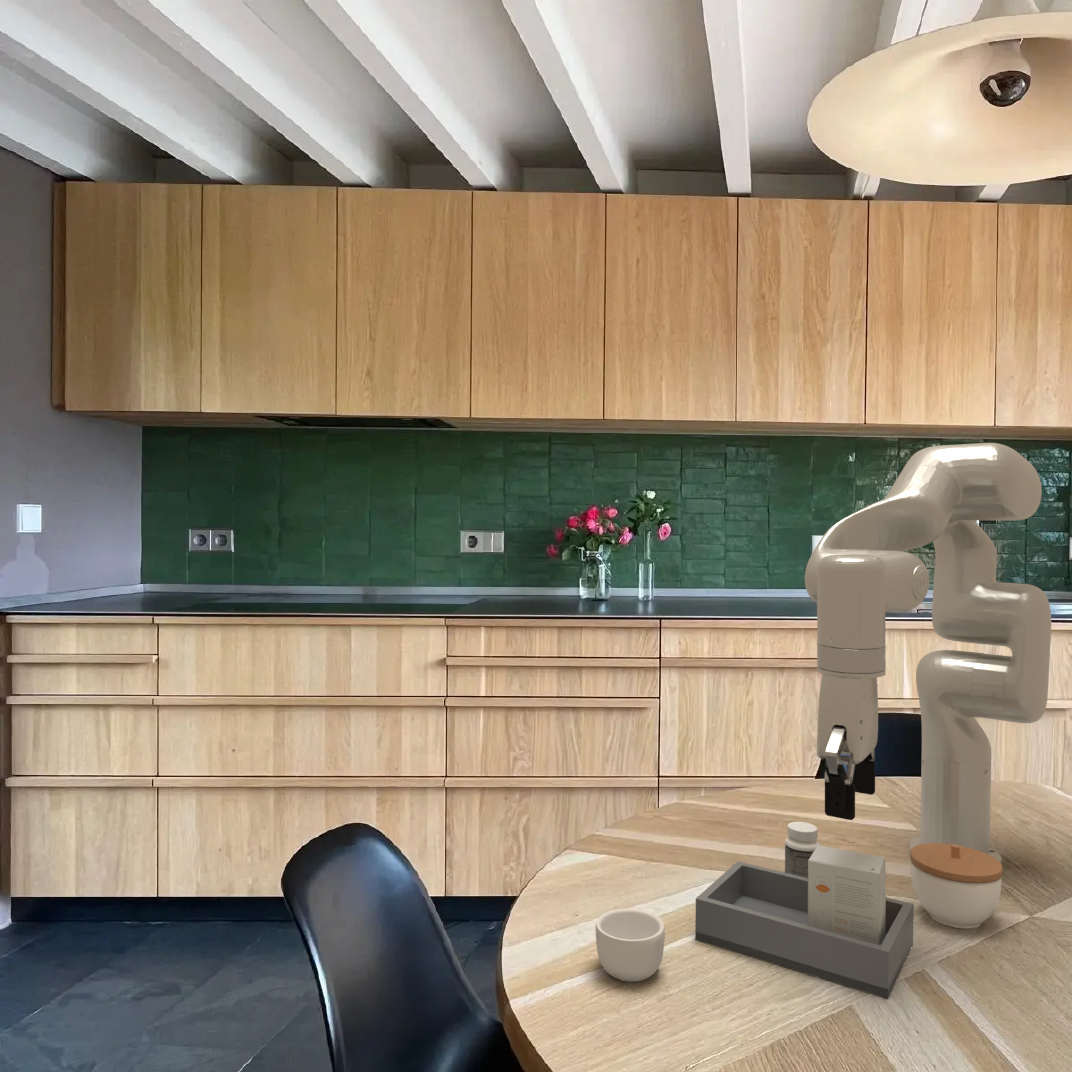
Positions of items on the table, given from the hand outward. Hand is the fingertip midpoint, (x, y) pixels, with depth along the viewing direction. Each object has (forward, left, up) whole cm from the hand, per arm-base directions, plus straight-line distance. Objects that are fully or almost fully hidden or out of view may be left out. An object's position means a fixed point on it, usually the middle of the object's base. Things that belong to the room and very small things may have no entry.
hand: (850, 804), depth 98 cm
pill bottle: (-15, -10, -18) cm, 26 cm away
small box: (+1, 0, -17) cm, 17 cm away
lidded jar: (-17, +9, -18) cm, 26 cm away
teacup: (+18, -19, -18) cm, 32 cm away
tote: (+1, -5, -18) cm, 18 cm away
